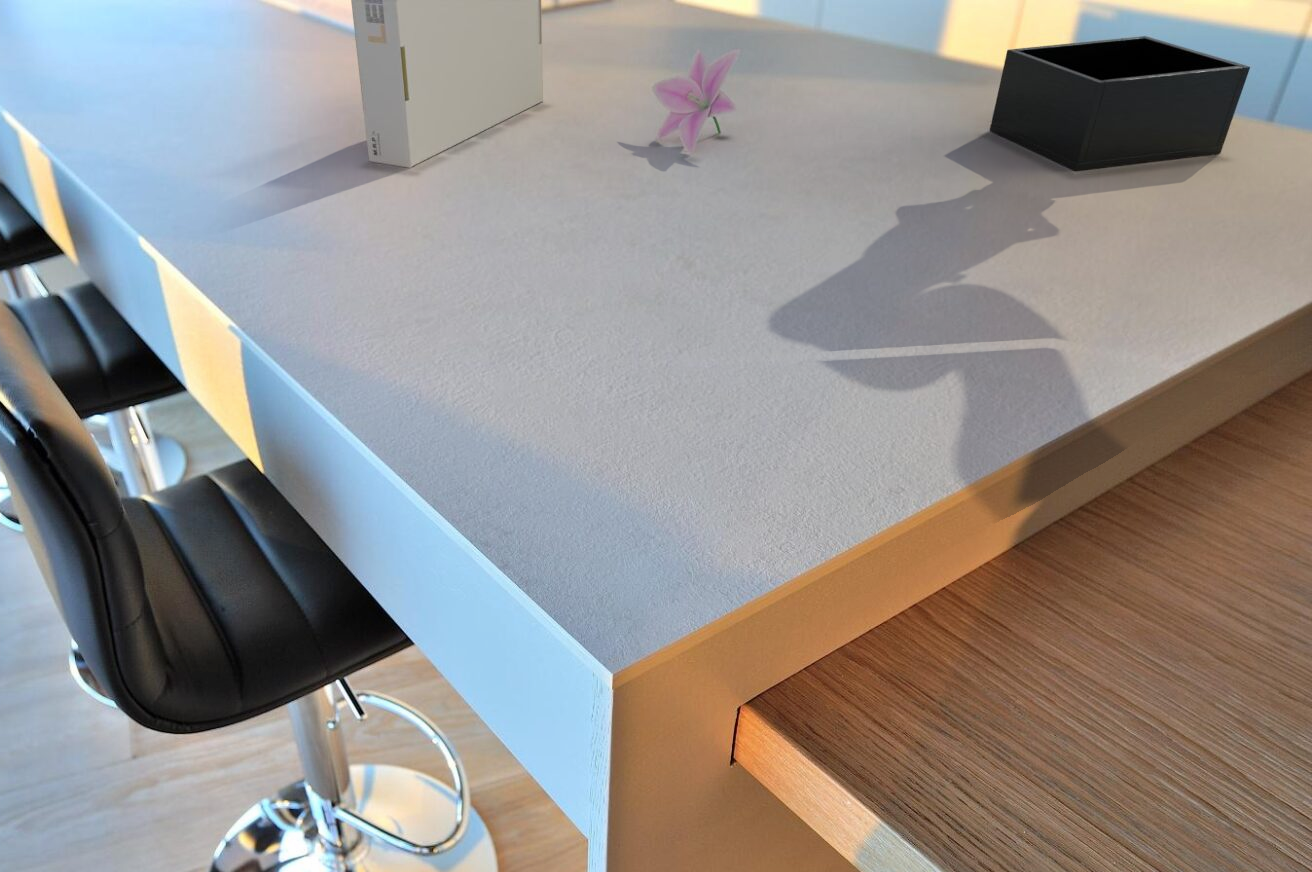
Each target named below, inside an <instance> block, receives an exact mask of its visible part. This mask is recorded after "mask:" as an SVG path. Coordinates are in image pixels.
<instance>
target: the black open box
mask: <svg viewBox="0 0 1312 872" xmlns="http://www.w3.org/2000/svg"><path fill="white" fill-rule="evenodd" d="M1250 69H1251V66H1249V65H1247V64H1244V63H1243V64H1242V63H1239V62H1235V61H1232V60H1229V59H1225V58H1222V57H1218V56H1215V55H1212V54H1209V53H1204V52H1201V51H1198V50H1194V49H1191V48H1188V47H1185V46H1180V45H1177V44H1173V43H1170V42H1168V41H1164V40H1160V39H1157V38H1154V37H1150V36H1146V35H1142V36H1132V37H1122V38H1111V39H1101V40H1092V41H1091V40H1090V41H1084V42H1083V41H1082V42H1081V41H1080V42H1070V43H1062V44H1051V45H1041V46H1031V47H1021V48H1020V47H1019V48H1012V49H1007V50H1006V55H1005V59H1004V63H1003V68H1002V73H1001V77H1000V83H999V86H998V91H997V95H996V100H995V103H994V104H995V106H994V109H993V114H992V117H991V123H990V127H989V131H990V132H992V133H994V134H996V135H998V136H999V137H1003V138H1004V139H1006V140H1008V141H1011V142H1013V143H1015V144H1017V145H1020V146H1021V147H1023V148H1025V149H1028V150H1030V151H1032V152H1034V153H1036V154H1038V155H1040V156H1042V157H1045V158H1047V159H1049V160H1051V161H1053V162H1055V163H1057V164H1059V165H1062V166H1064V167H1066V168H1068V169H1070V170H1072V171H1075V172H1078V171H1086V170H1095V169H1102V168H1109V167H1120V166H1121V167H1122V166H1128V165H1136V164H1143V163H1144V164H1145V163H1153V162H1160V161H1161V162H1162V161H1171V160H1177V159H1178V160H1179V159H1185V158H1194V157H1203V156H1210V155H1211V156H1212V155H1221V153H1222V150H1223V147H1224V144H1225V141H1226V138H1227V136H1228V134H1229V130H1230V127H1231V125H1232V121H1233V119H1234V116H1235V113H1236V110H1237V107H1238V104H1239V101H1240V99H1241V95H1242V92H1243V90H1244V87H1245V83H1246V81H1247V77H1248V74H1249V72H1250Z"/></svg>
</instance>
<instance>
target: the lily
mask: <svg viewBox="0 0 1312 872" xmlns="http://www.w3.org/2000/svg"><path fill="white" fill-rule="evenodd" d="M740 54H741V49H739V48H737V49H732V50H731V51H729V52H726V53H724V54H722V55H721V56H719V57H717V58H715V59H714V60H712V61H711V62H710V63H709V64H708V61H707V60H706V56H705V54H704V52H703V49H702V48H698V49H697V50H696V52H695V54H694V56H693V58H692V60H691V62H690V64H689V67H688V70H687V72H686V75H685V76H684V75H677V76H672V77H669V78H665V79H663V80H660V81H658V82H656V83H654V84H653V86H652V87H651V88H652V89H651V91H652V93H653V95H654V96H655V98H656V99H657V100H658V101H659V103H660V104H661V105H662V106H663V107H664V108H665V109H666V110H668V111H669V113H668V114H667V116H665V119H664V120H663V122H662V124H661V125H660V128H659V130H658V132H657V135H656V137H655V140H656V141H660V140H662V139H664V138H665V137H668V136H669V135H671V134H673V133H675V132H676V131H677V132H678V135H679V139H680V142H681V144H682V146H683V149H684V150H685V152H686V153H687V154H688V155H691V154H692V153H693V152H694V150H695V148H696V145H697V143H698V140H699V137H700V135H701V132H702V129H703V128H704V125H705V123H706V121H707V118H712V119H713V121H714V124H715V127H716V130H717V133H718V134H721V133H722V131H721V128H720V125H719V121H718V120H717V117H719V116H723V115H727V114H732V113H734V112H735V111H737V106H736V104H735V103H734V102H733V100H732V98H730V97H729V95H727V93H725V92H724V91H723V90H722V87H723V85H724V83H725V81H726V79H727V78H728V75H729V73H730V72H731V71H732V69H733V67H734V65H735V63H736V62H737V60H738V58H739V56H740Z"/></svg>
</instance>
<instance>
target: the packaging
mask: <svg viewBox="0 0 1312 872" xmlns="http://www.w3.org/2000/svg"><path fill="white" fill-rule="evenodd" d="M350 2H351V11H352V20H353V28H354V36H355V37H354V38H355V45H356V46H355V47H356V54H357V63H358V65H357V66H358V73H359V84H360V91H361V92H360V93H361V101H362V111H363V118H364V127H365V129H364V130H365V137H366V146H367V154H368V162H371V163H377V164H383V165H389V166H396V167H402V168H407V169H408V168H409V169H411V168H413V167H414V166H416V165H418V164H421V162H424V161H426V160H428V159H429V158H432V157H434V156H436V155H438V154H440V153H442V152H444V151H446V150H448V149H450V148H452V147H454V146H456V145H459V143H463V142H464V141H466V140H468V139H470V138H472V137H473V136H476V135H477V134H480V133H481V132H484V131H486V130H488V129H490V128H492V127H494V126H496V125H498V124H500V123H501V122H504V121H506V120H508V119H510V118H511V117H514V116H517V115H518V114H520V113H522V112H524V111H525V110H528V109H530V108H532V107H534V106H536V105H538V104H540V103H542V102H544V71H543V70H544V69H543V66H544V65H543V63H544V62H543V61H544V60H543V23H542V22H543V21H542V20H543V18H542V14H543V13H542V0H350Z"/></svg>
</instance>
